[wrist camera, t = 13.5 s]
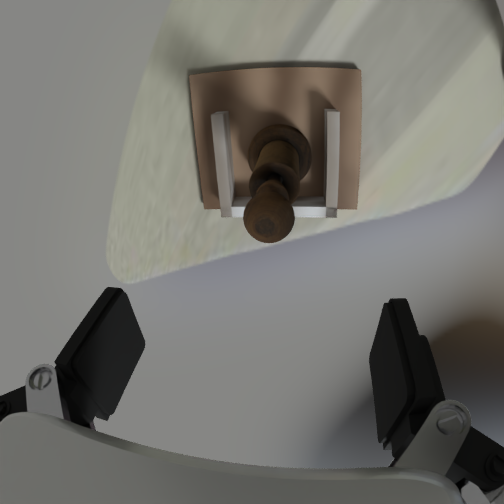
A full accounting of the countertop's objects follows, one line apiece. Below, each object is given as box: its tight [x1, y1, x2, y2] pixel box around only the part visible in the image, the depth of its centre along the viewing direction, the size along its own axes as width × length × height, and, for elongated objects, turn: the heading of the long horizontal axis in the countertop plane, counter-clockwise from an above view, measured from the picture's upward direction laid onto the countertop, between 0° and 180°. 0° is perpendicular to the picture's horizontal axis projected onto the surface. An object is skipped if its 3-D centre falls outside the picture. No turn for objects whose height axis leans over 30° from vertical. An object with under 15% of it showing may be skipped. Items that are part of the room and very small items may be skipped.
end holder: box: [189, 67, 362, 218], centre depth 31 cm, size 18×16×4 cm
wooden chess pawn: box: [243, 124, 312, 243], centre depth 25 cm, size 7×6×18 cm
